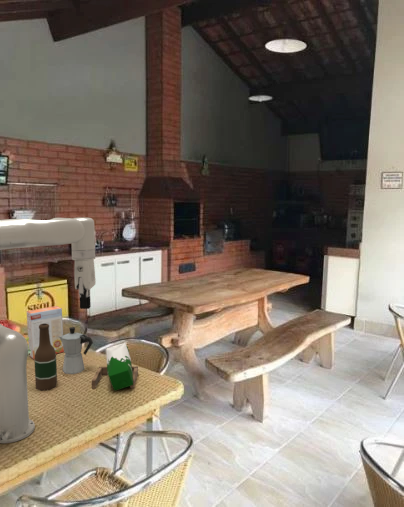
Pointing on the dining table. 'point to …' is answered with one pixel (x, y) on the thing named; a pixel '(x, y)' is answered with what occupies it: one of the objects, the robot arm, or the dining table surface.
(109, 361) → the soya milk
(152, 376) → the dining table surface
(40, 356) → the beer bottle
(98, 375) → the frame
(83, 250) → the robot arm
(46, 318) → the cracker box
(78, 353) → the coffee maker
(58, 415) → the dining table surface
